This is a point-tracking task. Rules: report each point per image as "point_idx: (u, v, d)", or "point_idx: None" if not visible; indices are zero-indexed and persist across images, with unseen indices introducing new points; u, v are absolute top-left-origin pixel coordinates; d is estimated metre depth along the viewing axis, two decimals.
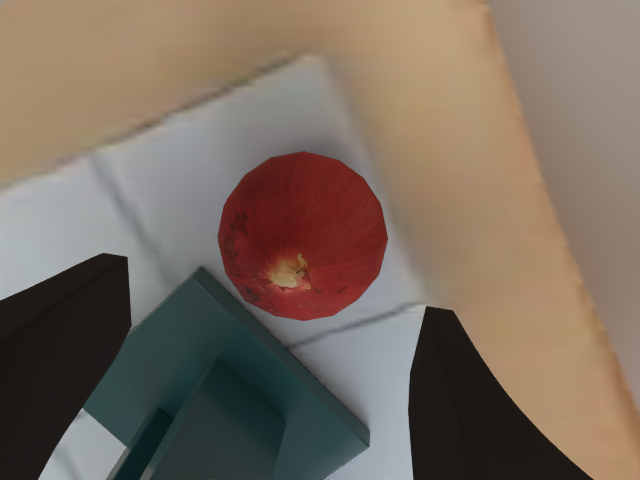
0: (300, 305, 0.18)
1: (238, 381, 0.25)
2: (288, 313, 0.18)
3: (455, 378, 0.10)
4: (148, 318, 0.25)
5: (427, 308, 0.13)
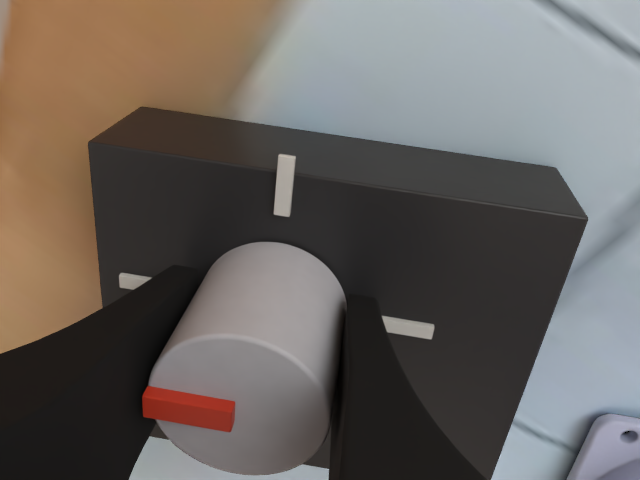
0: None
1: None
2: None
3: (356, 361, 0.10)
4: None
5: (349, 296, 0.13)
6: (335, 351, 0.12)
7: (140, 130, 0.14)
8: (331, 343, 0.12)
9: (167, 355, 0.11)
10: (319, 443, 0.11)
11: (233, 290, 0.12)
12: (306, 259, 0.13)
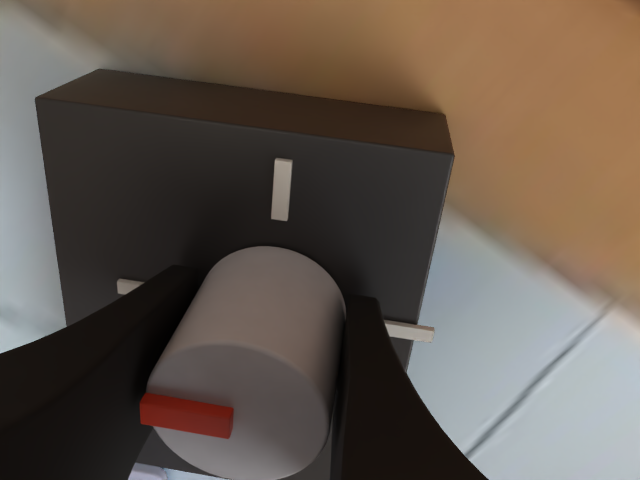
0: None
1: None
2: None
3: (357, 361, 0.10)
4: None
5: (350, 296, 0.13)
6: (334, 356, 0.12)
7: None
8: (329, 349, 0.12)
9: (164, 361, 0.11)
10: (318, 449, 0.11)
11: (231, 294, 0.11)
12: (304, 263, 0.13)
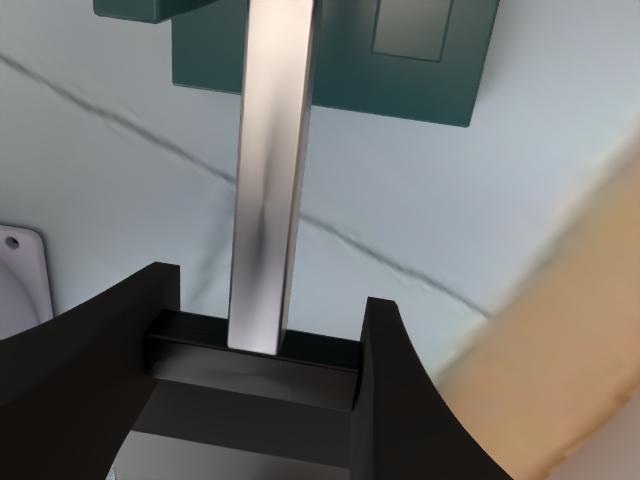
0: None
1: None
2: None
3: (380, 365, 0.10)
4: None
5: (368, 298, 0.13)
6: None
7: None
8: None
9: None
10: None
11: None
12: None
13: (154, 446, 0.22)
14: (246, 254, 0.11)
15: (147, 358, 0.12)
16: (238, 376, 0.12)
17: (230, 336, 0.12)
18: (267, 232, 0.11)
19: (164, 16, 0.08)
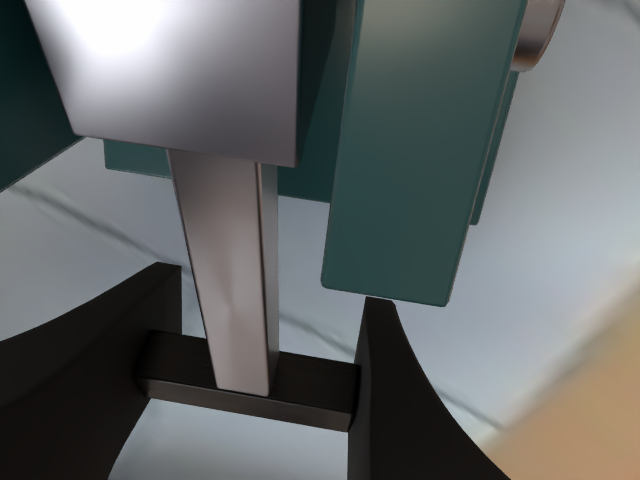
0: None
1: None
2: None
3: (377, 365, 0.10)
4: None
5: (366, 298, 0.13)
6: None
7: None
8: None
9: None
10: None
11: None
12: None
13: None
14: (220, 336, 0.10)
15: (140, 389, 0.12)
16: (232, 406, 0.12)
17: (218, 382, 0.11)
18: (239, 325, 0.09)
19: None
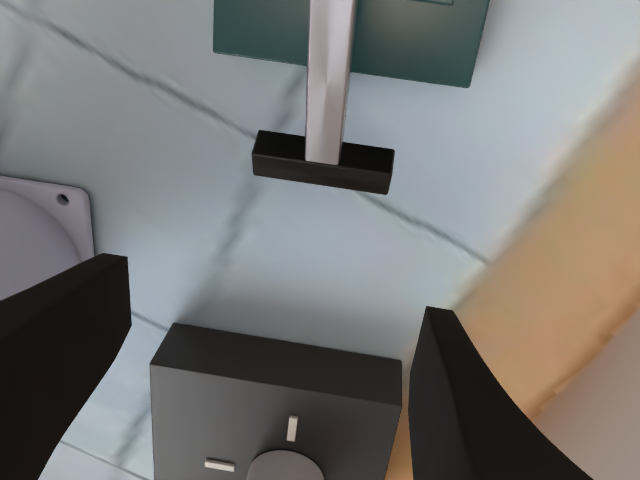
0: None
1: None
2: None
3: (455, 378, 0.10)
4: None
5: (427, 308, 0.13)
6: None
7: None
8: None
9: None
10: None
11: None
12: None
13: (189, 382, 0.25)
14: (315, 111, 0.16)
15: (254, 166, 0.19)
16: (313, 176, 0.19)
17: (307, 155, 0.18)
18: (329, 99, 0.16)
19: None
